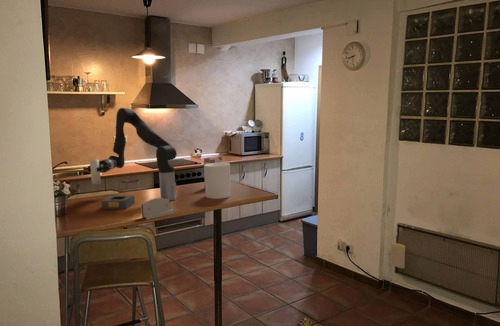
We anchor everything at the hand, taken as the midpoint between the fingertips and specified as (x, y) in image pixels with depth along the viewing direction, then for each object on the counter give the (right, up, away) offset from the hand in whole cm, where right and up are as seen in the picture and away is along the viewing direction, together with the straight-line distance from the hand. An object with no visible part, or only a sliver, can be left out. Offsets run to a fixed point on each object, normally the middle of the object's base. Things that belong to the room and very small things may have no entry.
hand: (93, 169), depth 235 cm
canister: (+71, -17, +21) cm, 76 cm away
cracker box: (+65, -13, +52) cm, 85 cm away
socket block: (+14, -21, +1) cm, 26 cm away
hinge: (+42, -24, -21) cm, 53 cm away
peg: (0, -8, +4) cm, 9 cm away
